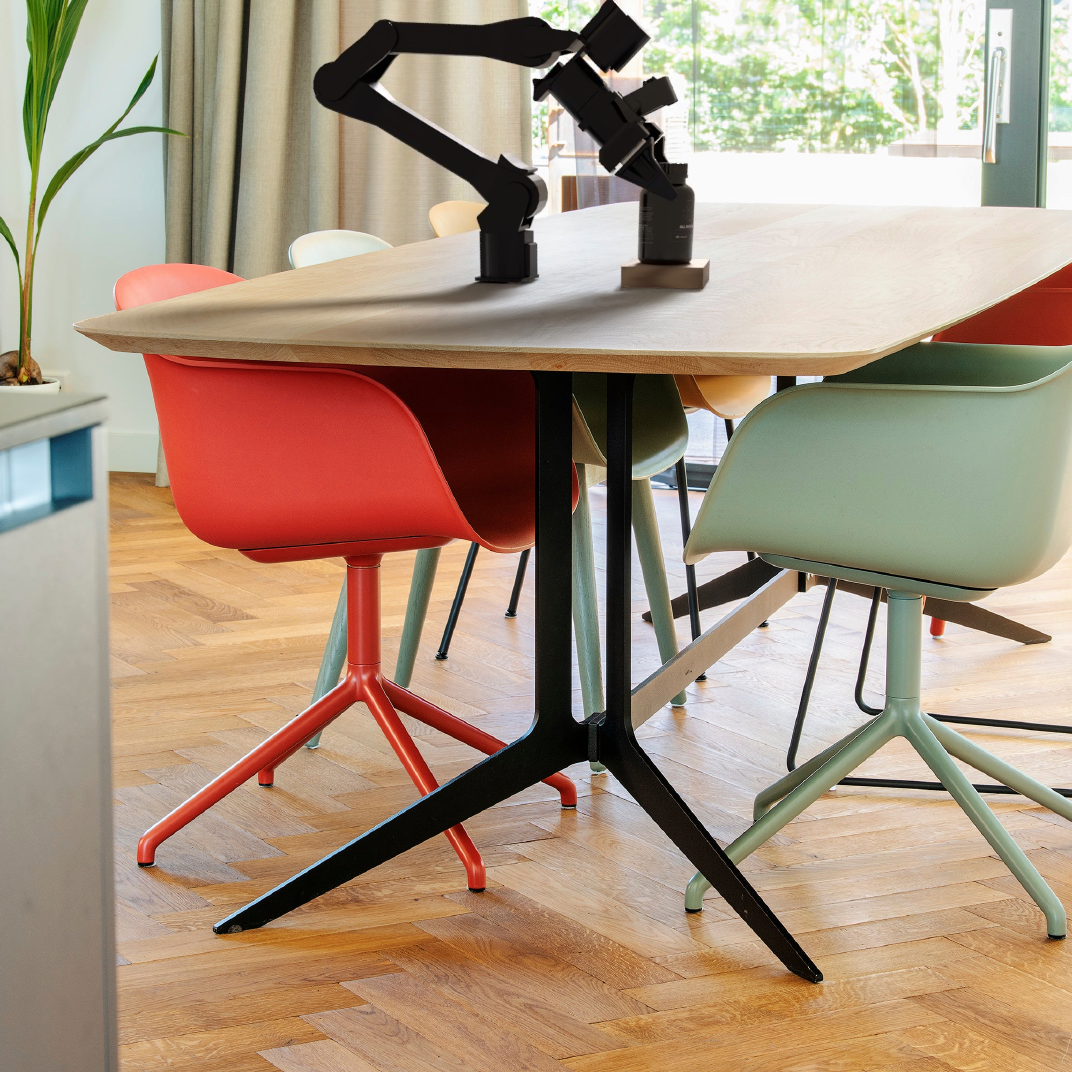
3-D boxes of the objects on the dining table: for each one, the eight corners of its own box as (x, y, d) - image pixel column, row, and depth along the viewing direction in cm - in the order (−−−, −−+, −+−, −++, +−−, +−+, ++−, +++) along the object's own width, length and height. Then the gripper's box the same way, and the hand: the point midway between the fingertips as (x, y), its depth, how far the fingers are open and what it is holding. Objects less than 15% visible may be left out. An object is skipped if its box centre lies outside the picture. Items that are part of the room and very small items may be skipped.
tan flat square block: (620, 287, 159) (621, 266, 159) (631, 277, 169) (631, 258, 168) (702, 288, 157) (703, 267, 157) (709, 279, 167) (709, 259, 166)
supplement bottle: (693, 265, 159) (697, 163, 155) (637, 264, 159) (639, 162, 156) (691, 260, 165) (695, 162, 162) (637, 259, 166) (639, 161, 162)
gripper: (628, 47, 147) (722, 149, 148) (647, 55, 164) (732, 146, 165) (559, 121, 151) (652, 219, 152) (586, 121, 168) (669, 209, 169)
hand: (679, 196), depth 160 cm, fingers open, 9 cm apart
